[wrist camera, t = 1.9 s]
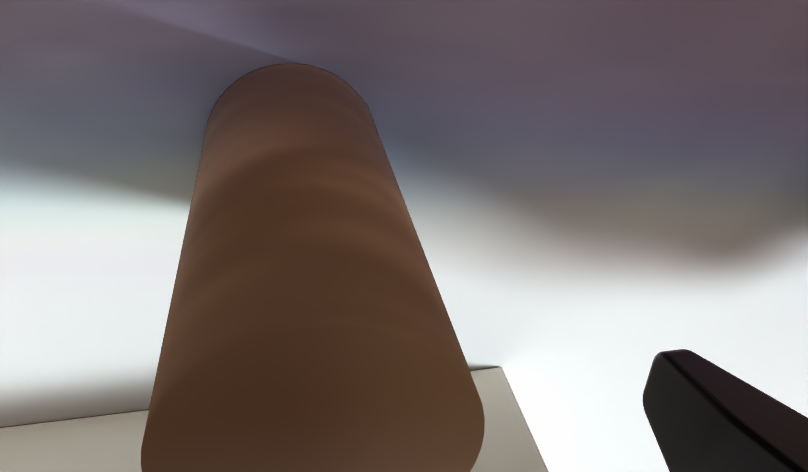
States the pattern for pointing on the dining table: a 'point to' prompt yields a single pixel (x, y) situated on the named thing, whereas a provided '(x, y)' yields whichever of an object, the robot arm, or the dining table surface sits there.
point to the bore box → (123, 433)
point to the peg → (305, 302)
